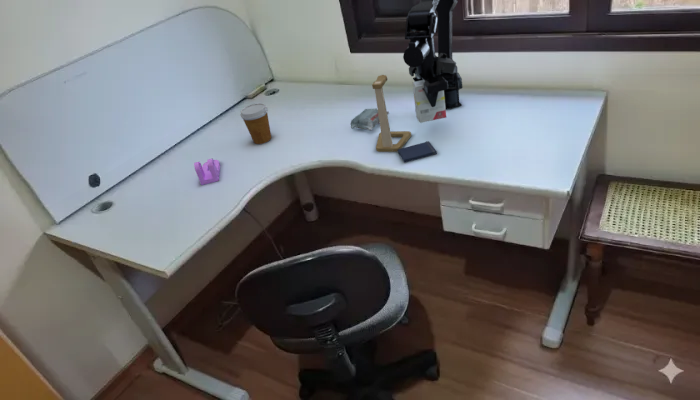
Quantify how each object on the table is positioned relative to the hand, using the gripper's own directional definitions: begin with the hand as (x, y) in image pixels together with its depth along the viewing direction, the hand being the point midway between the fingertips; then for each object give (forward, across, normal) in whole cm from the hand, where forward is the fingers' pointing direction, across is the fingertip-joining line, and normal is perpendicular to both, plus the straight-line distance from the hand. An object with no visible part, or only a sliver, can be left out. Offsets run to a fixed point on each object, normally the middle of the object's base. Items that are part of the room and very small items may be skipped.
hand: (430, 103), depth 158 cm
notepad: (+10, -10, +9) cm, 17 cm away
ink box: (+5, 0, 0) cm, 5 cm away
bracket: (+10, +12, +72) cm, 73 cm away
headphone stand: (+10, 0, +14) cm, 17 cm away
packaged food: (+10, +16, +17) cm, 25 cm away
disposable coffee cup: (+10, +27, +54) cm, 61 cm away
